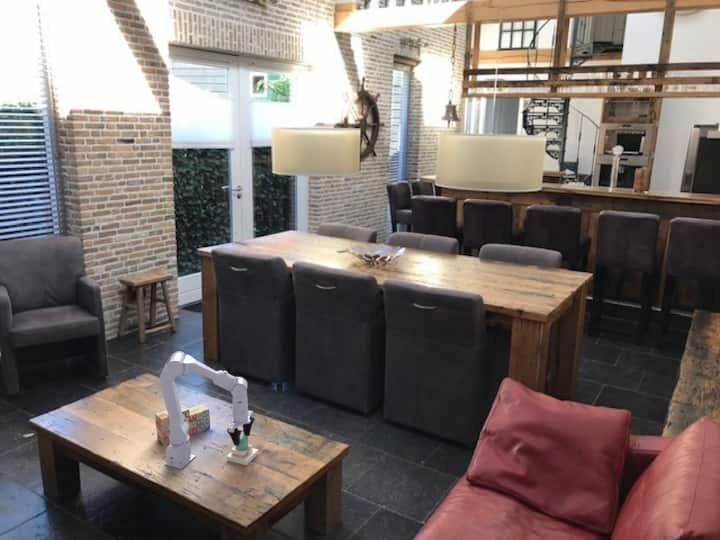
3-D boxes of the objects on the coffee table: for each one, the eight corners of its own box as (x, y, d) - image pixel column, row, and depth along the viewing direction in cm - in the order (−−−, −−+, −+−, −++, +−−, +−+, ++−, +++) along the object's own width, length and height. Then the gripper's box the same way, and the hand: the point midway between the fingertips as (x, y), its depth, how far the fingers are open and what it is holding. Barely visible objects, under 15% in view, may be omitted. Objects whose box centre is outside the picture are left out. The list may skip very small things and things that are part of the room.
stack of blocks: (203, 422, 264) (202, 397, 261) (210, 428, 259) (209, 402, 256) (157, 439, 250) (154, 413, 247) (163, 445, 246) (161, 418, 242)
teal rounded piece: (244, 451, 234) (244, 442, 233) (233, 449, 236) (232, 440, 234) (250, 445, 239) (250, 436, 238) (239, 442, 240) (239, 433, 239)
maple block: (244, 458, 234) (243, 452, 233) (231, 454, 236) (231, 449, 236) (252, 450, 239) (252, 445, 239) (240, 447, 242) (239, 441, 241)
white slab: (246, 466, 233) (246, 461, 232) (226, 461, 236) (226, 456, 235) (258, 454, 241) (258, 449, 240) (239, 450, 244) (239, 444, 243)
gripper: (239, 419, 225) (240, 451, 228) (259, 402, 238) (260, 433, 241) (223, 415, 227) (224, 447, 231) (243, 399, 240) (244, 429, 244)
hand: (241, 440), depth 236 cm, fingers open, 7 cm apart
